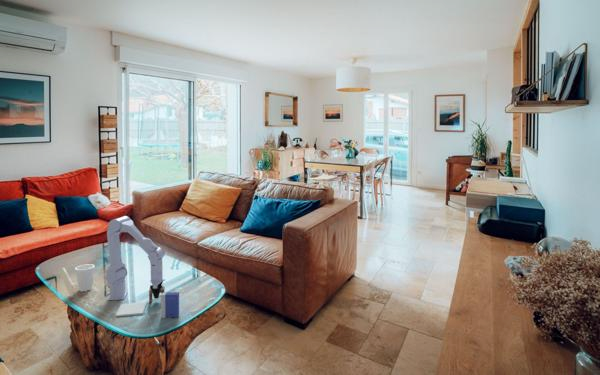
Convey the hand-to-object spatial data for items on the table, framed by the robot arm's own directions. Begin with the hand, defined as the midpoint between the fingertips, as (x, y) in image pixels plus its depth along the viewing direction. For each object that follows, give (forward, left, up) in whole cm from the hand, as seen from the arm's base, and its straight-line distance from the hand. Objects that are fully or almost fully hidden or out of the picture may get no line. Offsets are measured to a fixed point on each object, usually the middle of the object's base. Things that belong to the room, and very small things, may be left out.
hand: (156, 296), depth 182 cm
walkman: (+18, +8, -3) cm, 20 cm away
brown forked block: (0, 0, -3) cm, 3 cm away
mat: (+7, -11, -3) cm, 13 cm away
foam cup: (-24, -40, -3) cm, 47 cm away
